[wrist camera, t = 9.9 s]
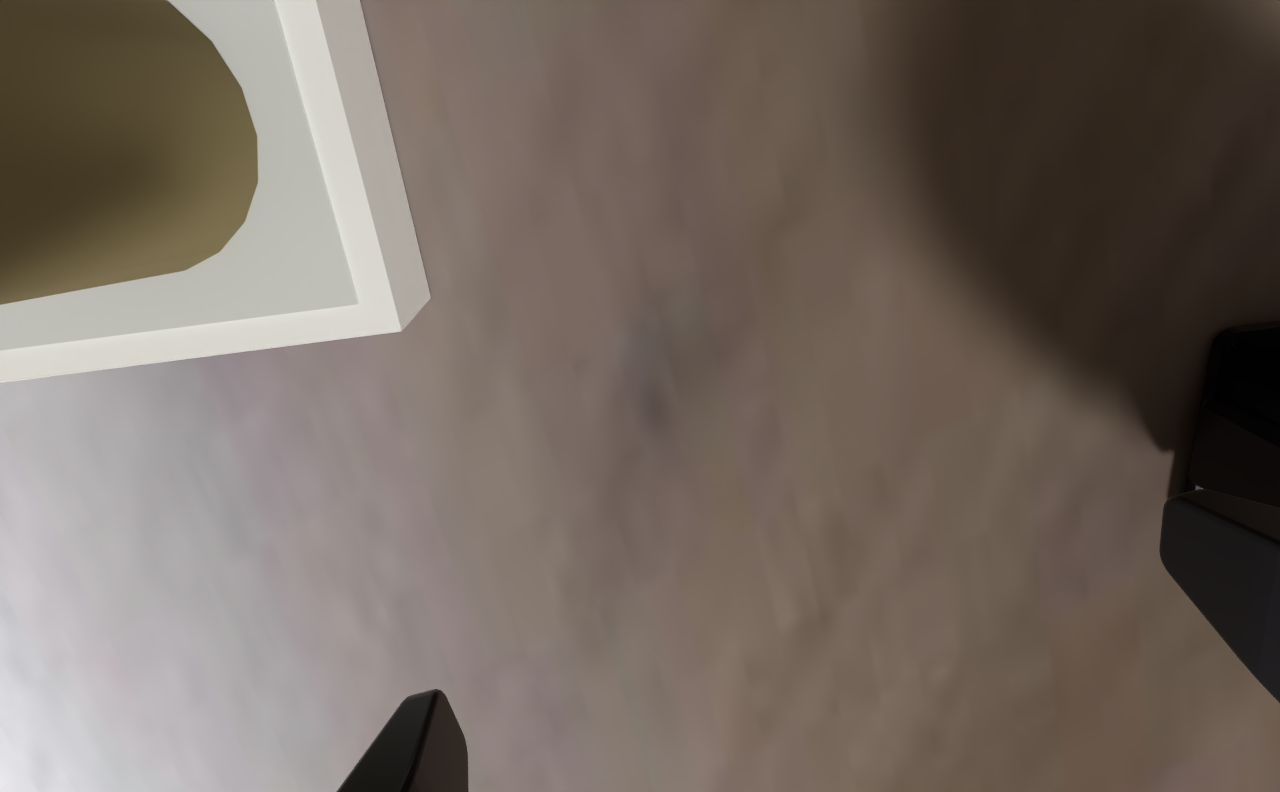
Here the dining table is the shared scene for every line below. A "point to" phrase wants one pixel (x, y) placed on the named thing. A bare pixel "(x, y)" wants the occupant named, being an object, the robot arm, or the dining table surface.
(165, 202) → the cork
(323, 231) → the tray
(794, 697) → the dining table surface
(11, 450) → the dining table surface
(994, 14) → the dining table surface
